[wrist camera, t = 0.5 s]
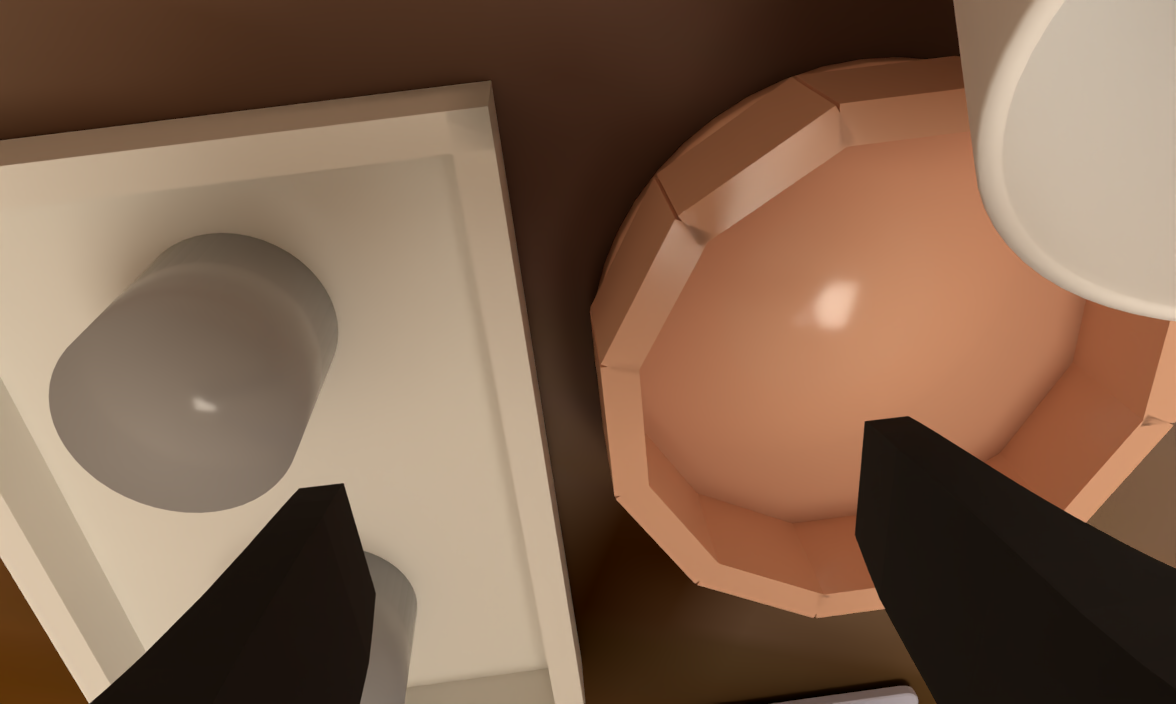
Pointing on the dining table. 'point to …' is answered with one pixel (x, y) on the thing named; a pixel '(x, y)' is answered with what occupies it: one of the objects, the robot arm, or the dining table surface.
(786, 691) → the dining table surface
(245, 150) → the tray
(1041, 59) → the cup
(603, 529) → the dining table surface
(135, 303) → the pebble
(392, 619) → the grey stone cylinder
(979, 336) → the bowl
